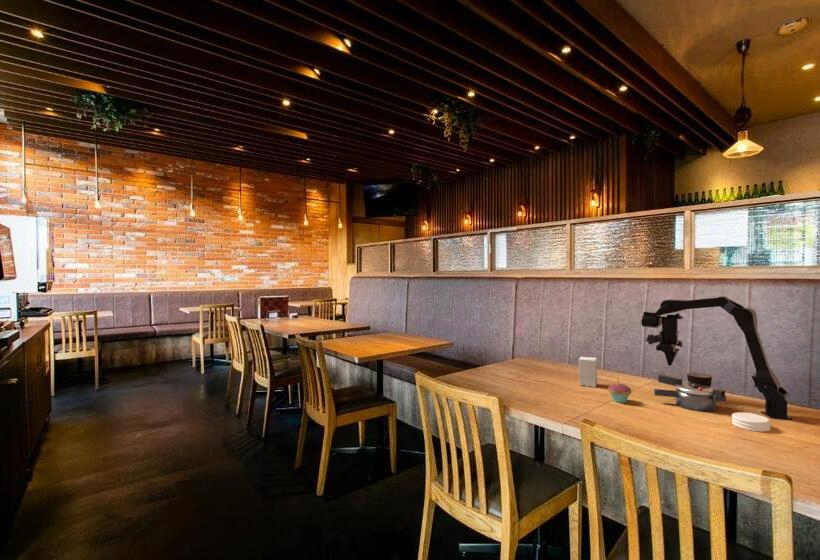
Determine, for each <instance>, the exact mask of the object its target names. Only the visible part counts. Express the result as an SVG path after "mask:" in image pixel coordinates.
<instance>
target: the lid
mask: <svg viewBox="0 0 820 560" xmlns="http://www.w3.org/2000/svg"><path fill="white" fill-rule="evenodd" d="M657 377H658V378H657V379H658V380H657V382H658V383H661V384H664V385H669V386H673V387H674V389H675V391H676V390H678V391H681V392H685V393H689V394H695V395H716V396H720V397H724V396H726V390H723V389H719V388H714V387H712V386H711V387H709V386H705V385H700V384H696V383H692V384H691V383H688V382H684V383H683V378H680V377H675V376H671V375H666V374H657Z"/></svg>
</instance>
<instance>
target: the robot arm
mask: <svg viewBox="0 0 820 560" xmlns="http://www.w3.org/2000/svg"><path fill="white" fill-rule="evenodd" d="M716 307H717V308H718V307H720V308H721V309H723V310H724V311H725V312H727V313H728V314H730V315H731V316H732V317H733V319H734V320H735V322H736V324H737V326H738V327H739V329H740V330H741V332H742V333H743V334H744V335H743V336H744V338H745V340H746V344H747V346H748V349H749V352H750V356H751V358H752V362H753V365H754V368H755V373H753V375H751V379H752V381H753V382H754V388H757V391H758V392H759V393H761V394H762V395H763V397H764V399H765V401H764V402H765V405H764V406H765V410H761V411H760V413H761V414H763V415H765V416H766V417H769V418H771V419H780V420H781V419H783V420H793V417H792V416H790V415H788V401H787V398H788V396H789V392H788V391H787V390H786V389H784V387H782V386H781V382H780V381H779V379H778V377H777V375H776V374H775V373H774V371H773V369H772V368H771V367H770V364H769V360H768V358H767V354H766V353H765V348H764V346H763V344H762V340H761V337H760V335H759V331H758V315H757V312H756V310H754V309H753V308H751V307H745V306H743V305H742V304H740V303H737V302H736V301H734V300H733V299H730V298H729V297H727V296H726V295H725V296H723V295H722V296H718V297H710V298H709V297H708V298H700V299H690V300H688V299H687V300H685V299H665V300H662V301H661V303H660V306H659V308H658V310H656V311H655V312H653V311H652V312H650V311H643V315H642V316H641V317H642V318H641V325H642V327H643V328H653V329H659V327H661V331H660V332H659V334H655V335H654V334H653V333H652V334H648V335H647V337H646V342H647V344H648V345H653V344H656V343H658V344H657V345H656V346H655V351H658V352H662V353H663V354H664V356H665V359H666V363H667V366H670V367H671V366H673V364H674V361H675V360H676V357H677V356H678V353H679V351H680V348H683V346H684V342H683V341H682V340H681V339H678V338H679V335H680V331H678V329H679V326H678V323H679V321H678V320H683V319H684V316H682V315H681V314H680V313H679V312H681V311H686V310H694V309H704V308H705V309H706V308H716ZM677 312H678V313H677ZM673 313H676V314H673ZM664 315H666V316H664ZM677 347H680V348H677Z"/></svg>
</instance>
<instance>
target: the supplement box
mask: <svg viewBox="0 0 820 560" xmlns="http://www.w3.org/2000/svg"><path fill="white" fill-rule="evenodd" d="M579 384H580V385H585V386H584V387H588V386H592V387H591V388H596V387H597V386H596V385H598V358H597V357H590V356H580V357H579V358H578V385H579Z"/></svg>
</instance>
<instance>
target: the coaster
mask: <svg viewBox="0 0 820 560" xmlns="http://www.w3.org/2000/svg"><path fill="white" fill-rule="evenodd" d="M731 423H732V425H733V426H735V427H736V426H737V428H739V429H742V428H743V429H742V430H745V429H747V431H750V430H752V431H751V432H757V431H759V433H766V432H765V431H767V432H769V430H770V431H771V420H770V419H769V418H768V417H767V416H766V417H765V416H763V415H760V414H756V413H749V412H742V411H741V412H739V411H738V412H734V413H732V414H731Z"/></svg>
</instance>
